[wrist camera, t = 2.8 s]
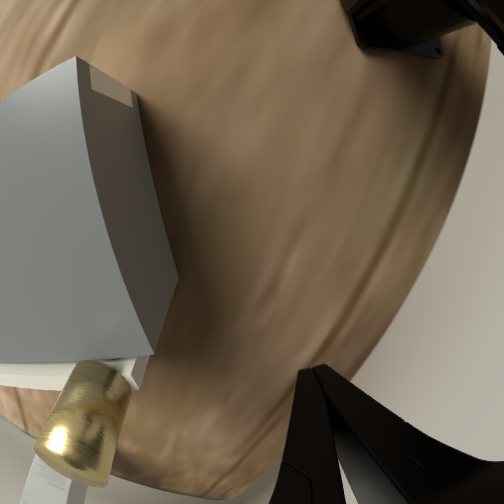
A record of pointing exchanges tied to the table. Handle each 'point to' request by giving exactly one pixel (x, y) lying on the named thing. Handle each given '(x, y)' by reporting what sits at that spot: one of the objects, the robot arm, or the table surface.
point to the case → (79, 223)
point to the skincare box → (51, 487)
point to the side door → (81, 411)
